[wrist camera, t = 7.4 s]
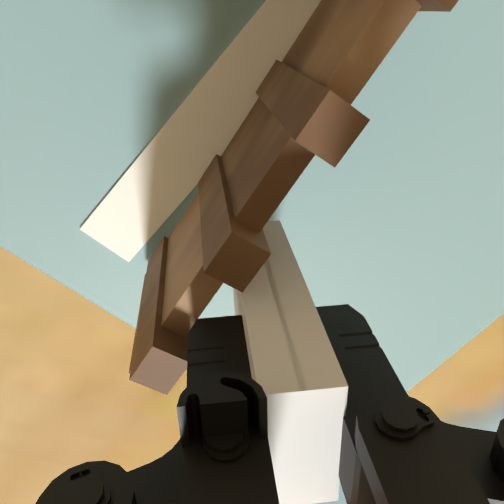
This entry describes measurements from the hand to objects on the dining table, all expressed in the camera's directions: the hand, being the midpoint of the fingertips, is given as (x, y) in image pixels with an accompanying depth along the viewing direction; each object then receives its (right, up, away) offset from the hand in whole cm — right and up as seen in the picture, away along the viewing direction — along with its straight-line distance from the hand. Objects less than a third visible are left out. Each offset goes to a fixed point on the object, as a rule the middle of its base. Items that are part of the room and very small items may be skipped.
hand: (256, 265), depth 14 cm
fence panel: (0, +4, 0) cm, 4 cm away
